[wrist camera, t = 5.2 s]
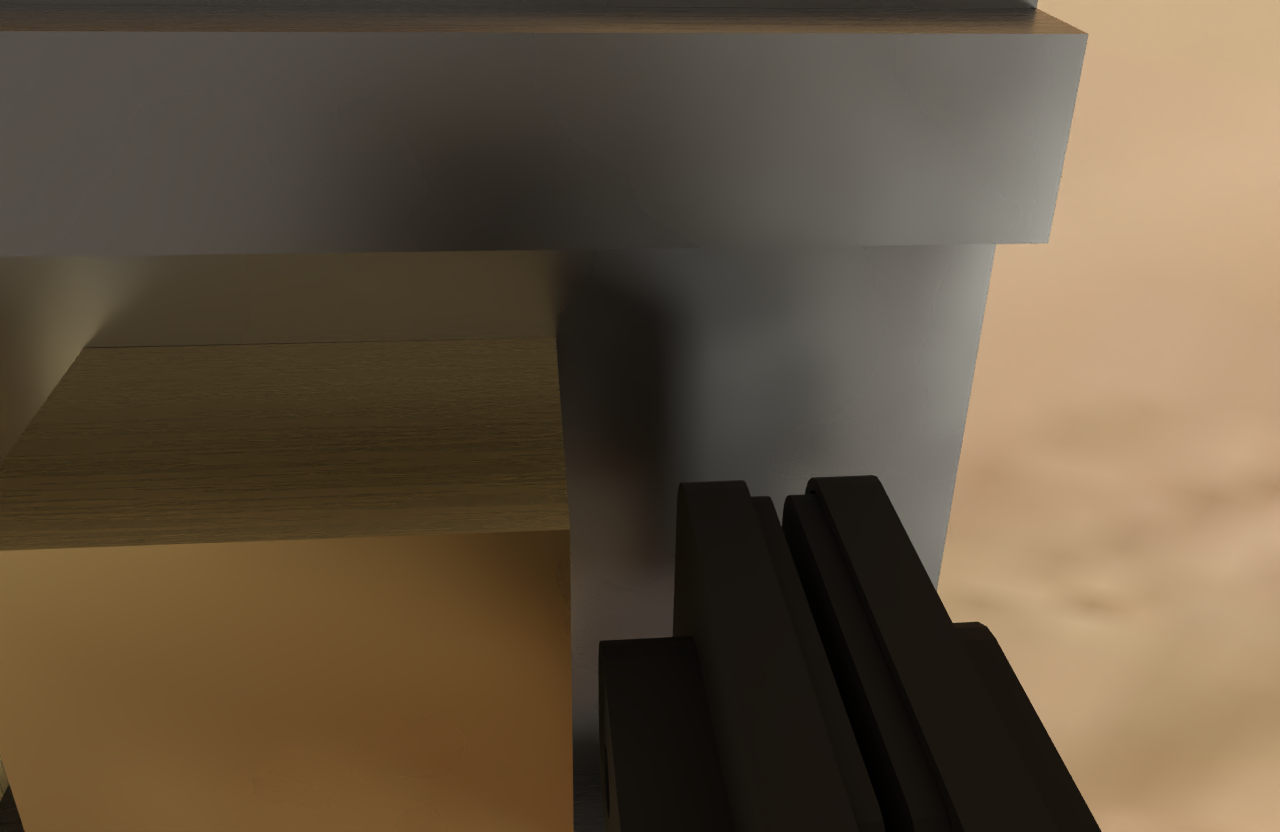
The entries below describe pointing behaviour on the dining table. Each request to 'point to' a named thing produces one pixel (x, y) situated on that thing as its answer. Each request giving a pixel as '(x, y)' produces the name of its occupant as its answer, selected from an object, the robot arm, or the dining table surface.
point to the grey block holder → (554, 227)
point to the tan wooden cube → (290, 591)
